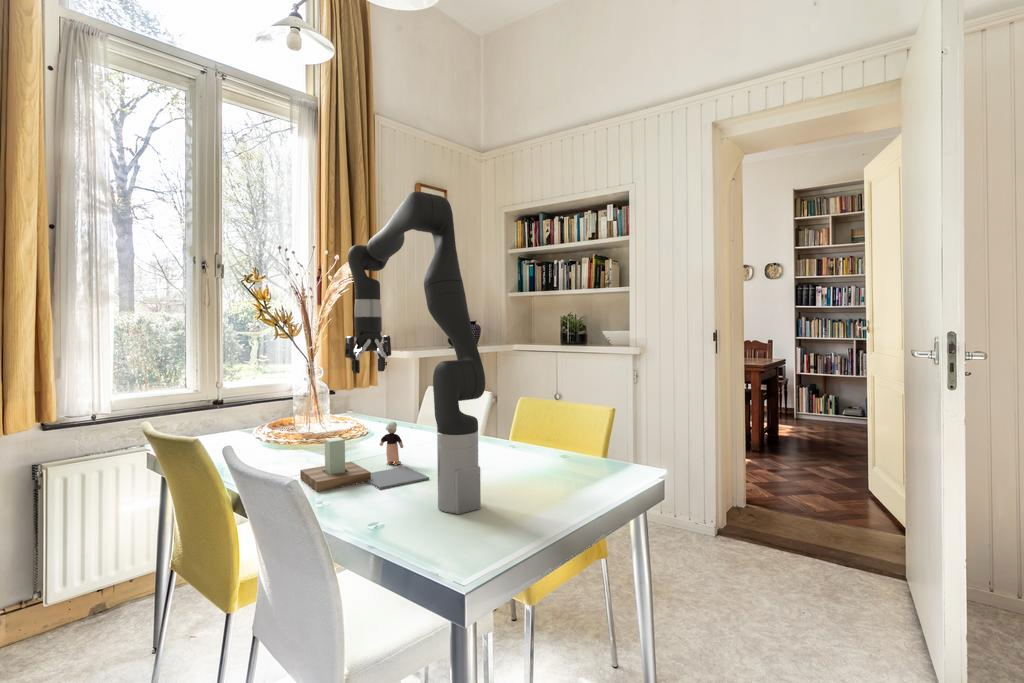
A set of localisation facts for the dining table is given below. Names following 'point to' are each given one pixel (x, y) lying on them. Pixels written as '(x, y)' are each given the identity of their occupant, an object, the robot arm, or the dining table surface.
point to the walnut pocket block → (334, 477)
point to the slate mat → (395, 477)
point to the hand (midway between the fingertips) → (369, 372)
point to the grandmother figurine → (392, 443)
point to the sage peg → (334, 456)
